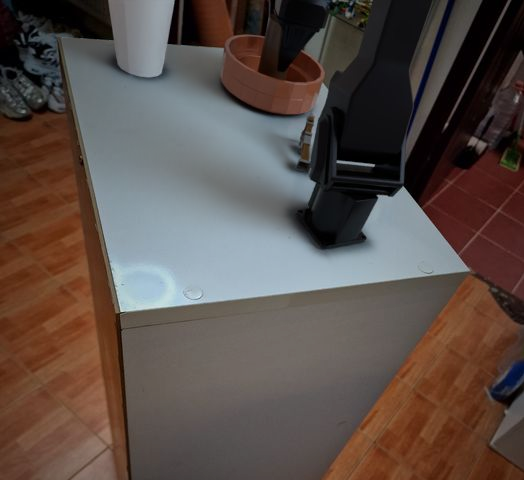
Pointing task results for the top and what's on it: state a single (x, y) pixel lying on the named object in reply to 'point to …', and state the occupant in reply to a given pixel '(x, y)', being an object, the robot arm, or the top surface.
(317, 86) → the bowl
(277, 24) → the brown cylinder
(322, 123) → the robot arm
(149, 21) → the foam cup
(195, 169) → the top surface
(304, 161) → the wooden post with brackets
